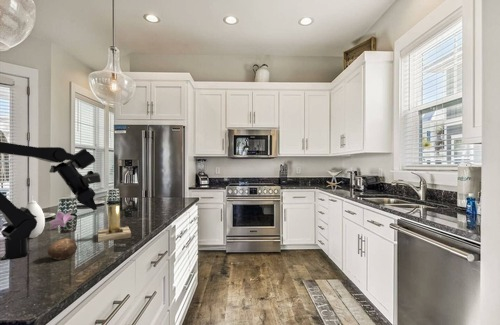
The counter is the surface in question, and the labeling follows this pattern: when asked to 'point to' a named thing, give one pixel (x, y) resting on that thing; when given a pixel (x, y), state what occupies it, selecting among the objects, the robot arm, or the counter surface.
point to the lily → (61, 219)
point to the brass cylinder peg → (113, 219)
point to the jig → (114, 234)
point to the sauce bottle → (40, 218)
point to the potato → (62, 249)
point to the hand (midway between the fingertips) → (93, 206)
